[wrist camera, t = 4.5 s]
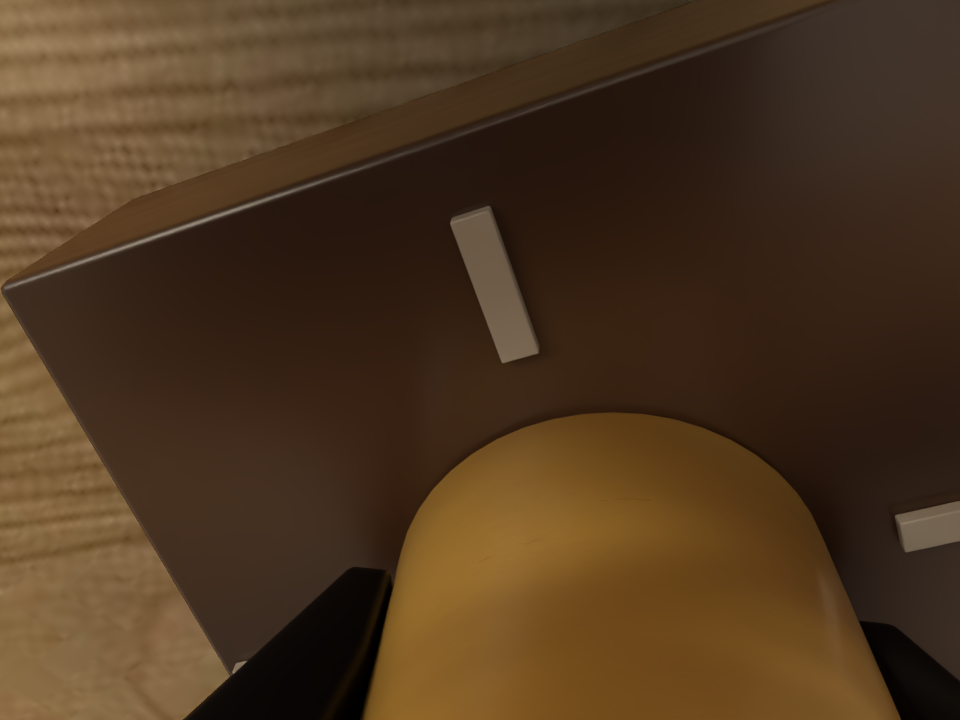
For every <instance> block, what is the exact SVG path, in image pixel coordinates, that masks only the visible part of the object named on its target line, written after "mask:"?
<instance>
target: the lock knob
mask: <svg viewBox="0 0 960 720" xmlns="http://www.w3.org/2000/svg"><path fill="white" fill-rule="evenodd" d="M359 720H901V718H900V715H899V713H898V711H897V709H896V706H895V704H894V702H893V699H892V697H891V695H890V692H889V690H888V688H887V685H886V683H885V681H884V678H883V676H882V674H881V672H880V669H879V667H878V665H877V662H876V660H875V658H874V655H873V653H872V651H871V648H870V646H869V644H868V642H867V639H866V637H865V635H864V632H863V630H862V628H861V625H860V623H859V621H858V618H857V616H856V614H855V611H854V609H853V607H852V605H851V602H850V600H849V598H848V595H847V593H846V591H845V588H844V586H843V584H842V581H841V579H840V577H839V575H838V572H837V570H836V568H835V565H834V563H833V561H832V558H831V556H830V554H829V551H828V549H827V547H826V544H825V542H824V540H823V538H822V535H821V533H820V531H819V529H818V527H817V525H816V523H815V520H814V518H813V516H812V514H811V512H810V511H809V509H808V508H807V506H806V505H805V504H804V502H803V501H802V499H801V498H800V496H799V495H798V493H797V492H796V491H795V490H794V489H793V488H792V487H791V486H790V484H789V483H788V482H787V481H786V480H785V479H784V478H783V477H782V476H781V475H780V474H779V473H778V472H777V471H776V470H775V469H773V468H772V467H771V466H770V465H768V464H767V463H766V462H765V461H763V460H762V459H761V458H760V457H758V456H757V455H755V454H754V453H752V452H750V451H749V450H747V449H745V448H744V447H742V446H740V445H739V444H737V443H735V442H734V441H732V440H730V439H728V438H725V437H723V436H721V435H719V434H716V433H714V432H712V431H709V430H707V429H705V428H702V427H699V426H696V425H692V424H689V423H686V422H682V421H679V420H675V419H671V418H665V417H659V416H653V415H648V414H638V413H620V412H605V413H588V414H578V415H573V416H567V417H561V418H556V419H551V420H547V421H544V422H541V423H537V424H534V425H531V426H527V427H524V428H522V429H519V430H517V431H515V432H512V433H510V434H508V435H505V436H503V437H501V438H498V439H496V440H495V441H493V442H491V443H490V444H488V445H486V446H485V447H483V448H481V449H480V450H478V451H476V452H475V453H473V454H471V455H470V456H469V457H468V458H466V459H465V460H464V461H463V462H461V463H460V464H459V465H457V466H456V467H455V468H454V469H452V470H451V471H450V472H449V473H448V474H447V475H446V476H445V477H444V478H443V479H442V480H441V481H440V482H439V483H438V485H437V486H436V487H435V488H434V489H433V490H432V491H431V493H430V494H429V495H428V497H427V498H426V500H425V501H424V502H423V504H422V505H421V507H420V508H419V509H418V511H417V513H416V515H415V517H414V519H413V521H412V523H411V525H410V527H409V529H408V531H407V535H406V538H405V541H404V544H403V547H402V550H401V554H400V558H399V562H398V566H397V570H396V574H395V578H394V582H393V586H392V590H391V594H390V598H389V602H388V606H387V610H386V614H385V618H384V622H383V626H382V630H381V634H380V638H379V642H378V646H377V650H376V654H375V658H374V662H373V666H372V670H371V674H370V678H369V682H368V686H367V690H366V694H365V698H364V702H363V706H362V710H361V714H360V718H359Z"/></svg>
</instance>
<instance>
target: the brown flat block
mask: <svg viewBox="0 0 960 720" xmlns="http://www.w3.org/2000/svg"><path fill="white" fill-rule="evenodd" d="M1 290H2V294H3V296H4V297H5V299H6V301H7V302H8V304H9V306H10V307H11V309H12V311H13V312H14V314H15V316H16V317H17V319H18V321H19V323H20V324H21V326H22V328H23V329H24V331H25V333H26V334H27V336H28V338H29V339H30V341H31V343H32V344H33V346H34V348H35V349H36V351H37V353H38V354H39V356H40V358H41V359H42V361H43V363H44V364H45V366H46V368H47V369H48V371H49V373H50V375H51V376H52V378H53V380H54V381H55V383H56V385H57V386H58V388H59V390H60V391H61V393H62V395H63V396H64V398H65V400H66V401H67V403H68V405H69V406H70V408H71V410H72V411H73V413H74V415H75V416H76V418H77V420H78V422H79V423H80V425H81V427H82V428H83V430H84V432H85V433H86V435H87V437H88V438H89V440H90V442H91V443H92V445H93V447H94V448H95V450H96V452H97V453H98V455H99V457H100V458H101V460H102V462H103V463H104V465H105V467H106V468H107V470H108V472H109V474H110V475H111V477H112V479H113V480H114V482H115V484H116V485H117V487H118V489H119V490H120V492H121V494H122V495H123V497H124V499H125V500H126V502H127V504H128V505H129V507H130V509H131V510H132V512H133V514H134V515H135V517H136V519H137V521H138V522H139V524H140V526H141V527H142V529H143V531H144V532H145V534H146V536H147V537H148V539H149V541H150V542H151V544H152V546H153V547H154V549H155V551H156V552H157V554H158V556H159V557H160V559H161V561H162V562H163V564H164V566H165V567H166V569H167V571H168V573H169V574H170V576H171V578H172V579H173V581H174V583H175V584H176V586H177V588H178V589H179V591H180V593H181V594H182V596H183V598H184V599H185V601H186V603H187V604H188V606H189V608H190V609H191V611H192V613H193V614H194V616H195V618H196V619H197V621H198V623H199V625H200V626H201V628H202V630H203V631H204V633H205V635H206V636H207V638H208V640H209V641H210V643H211V645H212V646H213V648H214V650H215V651H216V653H217V655H218V656H219V658H220V660H221V661H222V663H223V665H224V666H225V668H226V670H227V672H228V673H229V675H230V676H232V675H233V674H234V673H235V672H236V671H237V670H238V669H239V668H240V667H241V666H242V665H244V664H245V663H246V662H247V661H248V660H249V659H250V658H251V657H252V656H253V655H254V654H256V653H257V652H258V651H259V650H260V649H261V648H262V647H263V646H264V645H265V644H267V643H268V642H269V641H270V640H271V639H272V638H273V637H274V636H275V635H276V634H277V633H279V632H280V631H281V630H282V629H283V628H284V627H285V626H286V625H287V624H288V623H290V622H291V621H292V620H293V619H294V618H295V617H296V616H297V615H298V614H299V613H300V612H302V611H303V610H304V609H305V608H306V607H307V606H308V605H309V604H310V603H311V602H312V601H314V600H315V599H316V598H317V597H318V596H319V595H320V594H321V593H322V592H323V591H325V590H326V589H327V588H328V587H329V586H330V585H331V584H332V583H333V582H334V581H335V580H337V579H338V578H339V577H340V576H341V575H342V574H343V573H344V572H345V571H346V570H348V569H350V568H352V567H365V568H374V569H383V570H387V571H389V572H390V574H391V576H392V586H393V582H394V578H395V574H396V570H397V566H398V562H399V558H400V554H401V550H402V547H403V544H404V541H405V538H406V535H407V531H408V529H409V527H410V525H411V523H412V521H413V519H414V517H415V515H416V513H417V511H418V509H419V508H420V507H421V505H422V504H423V502H424V501H425V500H426V498H427V497H428V495H429V494H430V493H431V491H432V490H433V489H434V488H435V487H436V486H437V485H438V483H439V482H440V481H441V480H442V479H443V478H444V477H445V476H446V475H447V474H448V473H449V472H450V471H451V470H452V469H454V468H455V467H456V466H457V465H459V464H460V463H461V462H463V461H464V460H465V459H466V458H468V457H469V456H470V455H471V454H473V453H475V452H476V451H478V450H480V449H481V448H483V447H485V446H486V445H488V444H490V443H491V442H493V441H495V440H496V439H498V438H501V437H503V436H505V435H508V434H510V433H512V432H515V431H517V430H519V429H522V428H524V427H527V426H531V425H534V424H537V423H541V422H544V421H547V420H551V419H556V418H561V417H567V416H573V415H578V414H588V413H605V412H620V413H638V414H648V415H653V416H659V417H665V418H671V419H675V420H679V421H682V422H686V423H689V424H692V425H696V426H699V427H702V428H705V429H707V430H709V431H712V432H714V433H716V434H719V435H721V436H723V437H725V438H728V439H730V440H732V441H734V442H735V443H737V444H739V445H740V446H742V447H744V448H745V449H747V450H749V451H750V452H752V453H754V454H755V455H757V456H758V457H760V458H761V459H762V460H763V461H765V462H766V463H767V464H768V465H770V466H771V467H772V468H773V469H775V470H776V471H777V472H778V473H779V474H780V475H781V476H782V477H783V478H784V479H785V480H786V481H787V482H788V483H789V484H790V486H791V487H792V488H793V489H794V490H795V491H796V492H797V493H798V495H799V496H800V498H801V499H802V501H803V502H804V504H805V505H806V506H807V508H808V509H809V511H810V512H811V514H812V516H813V518H814V520H815V523H816V525H817V527H818V529H819V531H820V533H821V535H822V538H823V540H824V542H825V544H826V547H827V549H828V551H829V554H830V556H831V558H832V561H833V563H834V565H835V568H836V570H837V572H838V575H839V577H840V579H841V581H842V584H843V586H844V588H845V591H846V593H847V595H848V598H849V600H850V602H851V605H852V607H853V609H854V611H855V614H856V616H857V618H858V620H859V621H868V622H878V623H887V624H891V625H893V626H895V627H897V628H898V629H899V630H901V631H902V632H903V633H904V634H905V635H907V636H908V637H909V638H910V639H911V640H912V641H914V642H915V643H916V644H917V645H918V646H919V647H921V648H922V649H923V650H924V651H925V652H927V653H928V654H929V655H930V656H931V657H932V658H934V659H935V660H936V661H937V662H938V663H939V664H941V665H942V666H943V667H944V668H945V669H947V670H948V671H949V672H950V673H951V674H952V675H954V676H955V677H956V678H957V679H958V680H959V681H960V0H697V1H694V2H691V3H688V4H685V5H683V6H680V7H677V8H674V9H671V10H668V11H666V12H663V13H660V14H657V15H654V16H651V17H649V18H646V19H643V20H640V21H637V22H634V23H632V24H629V25H626V26H623V27H620V28H617V29H615V30H612V31H609V32H606V33H603V34H600V35H598V36H595V37H592V38H589V39H586V40H583V41H581V42H578V43H575V44H572V45H569V46H566V47H564V48H561V49H558V50H555V51H552V52H549V53H547V54H544V55H541V56H538V57H535V58H532V59H530V60H527V61H524V62H521V63H518V64H515V65H513V66H510V67H507V68H504V69H501V70H498V71H496V72H493V73H490V74H487V75H484V76H481V77H479V78H476V79H473V80H470V81H467V82H464V83H462V84H459V85H456V86H453V87H450V88H447V89H445V90H442V91H439V92H436V93H433V94H430V95H428V96H425V97H422V98H419V99H416V100H413V101H411V102H408V103H405V104H402V105H399V106H396V107H394V108H391V109H388V110H385V111H382V112H379V113H377V114H374V115H371V116H368V117H365V118H362V119H360V120H357V121H354V122H351V123H348V124H345V125H343V126H340V127H337V128H334V129H331V130H328V131H326V132H323V133H320V134H317V135H314V136H311V137H309V138H306V139H303V140H300V141H297V142H294V143H292V144H289V145H286V146H283V147H280V148H277V149H275V150H272V151H269V152H266V153H263V154H260V155H258V156H255V157H252V158H249V159H246V160H243V161H241V162H238V163H235V164H232V165H229V166H226V167H223V168H221V169H218V170H215V171H212V172H209V173H206V174H204V175H201V176H198V177H195V178H192V179H189V180H187V181H184V182H181V183H178V184H175V185H172V186H170V187H167V188H164V189H161V190H158V191H155V192H153V193H150V194H147V195H144V196H141V197H138V198H136V199H133V200H131V201H130V202H128V203H126V204H125V205H123V206H122V207H120V208H119V209H117V210H116V211H114V212H112V213H111V214H109V215H108V216H106V217H105V218H103V219H102V220H100V221H99V222H97V223H95V224H94V225H92V226H91V227H89V228H88V229H86V230H85V231H83V232H81V233H80V234H78V235H77V236H75V237H74V238H72V239H71V240H69V241H68V242H66V243H64V244H63V245H61V246H60V247H58V248H57V249H55V250H54V251H52V252H50V253H49V254H47V255H46V256H44V257H43V258H41V259H40V260H38V261H37V262H35V263H33V264H32V265H30V266H29V267H27V268H26V269H24V270H23V271H21V272H20V273H18V274H16V275H15V276H13V277H12V278H10V279H9V280H7V281H6V282H5V283H4V284H3V285H2V287H1Z"/></svg>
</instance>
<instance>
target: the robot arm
mask: <svg viewBox="0 0 960 720" xmlns="http://www.w3.org/2000/svg"><path fill="white" fill-rule="evenodd" d="M391 590H392V576H391V574H390V572H389V571H387V570H383V569H374V568H365V567H352V568H350V569H348V570H346V571H345V572H344V573H343V574H342V575H341V576H340V577H339V578H338V579H337V580H335V581H334V582H333V583H332V584H331V585H330V586H329V587H328V588H327V589H326V590H325V591H323V592H322V593H321V594H320V595H319V596H318V597H317V598H316V599H315V600H314V601H312V602H311V603H310V604H309V605H308V606H307V607H306V608H305V609H304V610H303V611H302V612H300V613H299V614H298V615H297V616H296V617H295V618H294V619H293V620H292V621H291V622H290V623H288V624H287V625H286V626H285V627H284V628H283V629H282V630H281V631H280V632H279V633H277V634H276V635H275V636H274V637H273V638H272V639H271V640H270V641H269V642H268V643H267V644H265V645H264V646H263V647H262V648H261V649H260V650H259V651H258V652H257V653H256V654H254V655H253V656H252V657H251V658H250V659H249V660H248V661H247V662H246V663H245V664H244V665H242V666H241V667H240V668H239V669H238V670H237V671H236V672H235V673H234V674H233V675H232V676H230V677H229V678H228V679H227V680H226V681H225V682H224V683H223V684H222V685H221V686H219V687H218V688H217V689H216V690H215V691H214V692H213V693H212V694H211V695H210V696H209V697H207V698H206V699H205V700H204V701H203V702H202V703H201V704H200V705H199V706H198V707H196V708H195V709H194V710H193V711H192V712H191V713H190V714H189V715H188V716H187V717H186V718H184V719H183V720H359V718H360V714H361V710H362V706H363V702H364V698H365V694H366V690H367V686H368V682H369V678H370V674H371V670H372V666H373V662H374V658H375V654H376V650H377V646H378V642H379V638H380V634H381V630H382V626H383V622H384V618H385V614H386V610H387V606H388V602H389V598H390V594H391ZM858 621H859V620H858ZM859 623H860V625H861V628H862V630H863V632H864V635H865V637H866V639H867V642H868V644H869V646H870V648H871V651H872V653H873V655H874V658H875V660H876V662H877V665H878V667H879V669H880V672H881V674H882V676H883V678H884V681H885V683H886V685H887V688H888V690H889V692H890V695H891V697H892V699H893V702H894V704H895V706H896V709H897V711H898V713H899V715H900V718H901V720H960V681H959V680H958V679H957V678H956V677H955V676H954V675H952V674H951V673H950V672H949V671H948V670H947V669H945V668H944V667H943V666H942V665H941V664H939V663H938V662H937V661H936V660H935V659H934V658H932V657H931V656H930V655H929V654H928V653H927V652H925V651H924V650H923V649H922V648H921V647H919V646H918V645H917V644H916V643H915V642H914V641H912V640H911V639H910V638H909V637H908V636H907V635H905V634H904V633H903V632H902V631H901V630H899V629H898V628H897V627H895V626H893V625H891V624H887V623H878V622H868V621H859Z"/></svg>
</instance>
